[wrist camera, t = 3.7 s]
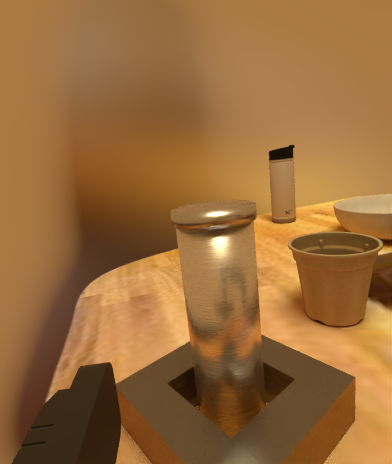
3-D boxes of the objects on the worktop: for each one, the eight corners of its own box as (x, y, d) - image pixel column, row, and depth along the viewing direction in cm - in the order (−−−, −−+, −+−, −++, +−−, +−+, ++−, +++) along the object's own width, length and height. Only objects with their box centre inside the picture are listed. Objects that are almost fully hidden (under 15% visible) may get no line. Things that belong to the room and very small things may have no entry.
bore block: (230, 351, 31) (227, 319, 30) (354, 419, 21) (355, 377, 21) (121, 424, 23) (114, 385, 22) (239, 576, 14) (233, 519, 13)
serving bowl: (341, 222, 76) (341, 195, 74) (450, 224, 64) (453, 191, 63) (325, 246, 59) (324, 211, 58) (467, 254, 48) (471, 211, 46)
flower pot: (275, 305, 39) (272, 239, 37) (337, 289, 41) (337, 227, 39) (326, 345, 30) (325, 262, 28) (401, 322, 32) (406, 244, 30)
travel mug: (294, 223, 80) (291, 144, 75) (269, 223, 83) (265, 148, 79) (299, 218, 85) (296, 144, 81) (275, 218, 88) (272, 147, 84)
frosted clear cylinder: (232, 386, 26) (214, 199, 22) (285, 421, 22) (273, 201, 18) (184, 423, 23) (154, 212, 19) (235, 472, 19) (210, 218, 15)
